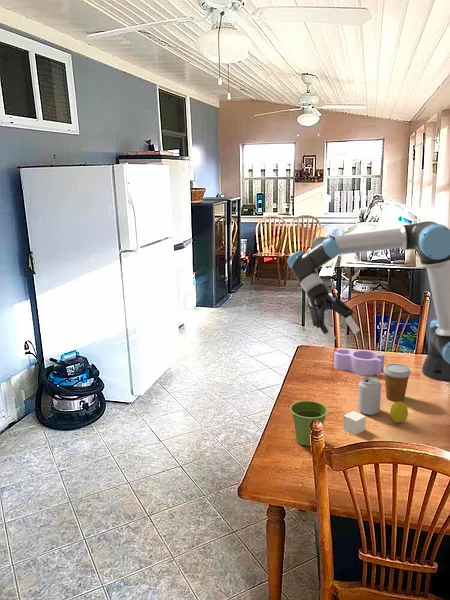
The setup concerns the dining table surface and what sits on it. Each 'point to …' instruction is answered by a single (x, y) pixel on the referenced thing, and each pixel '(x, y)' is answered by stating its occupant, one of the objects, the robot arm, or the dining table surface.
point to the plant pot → (306, 418)
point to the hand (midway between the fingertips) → (345, 336)
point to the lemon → (399, 412)
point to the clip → (359, 361)
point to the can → (369, 395)
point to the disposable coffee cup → (396, 381)
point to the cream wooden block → (354, 422)
